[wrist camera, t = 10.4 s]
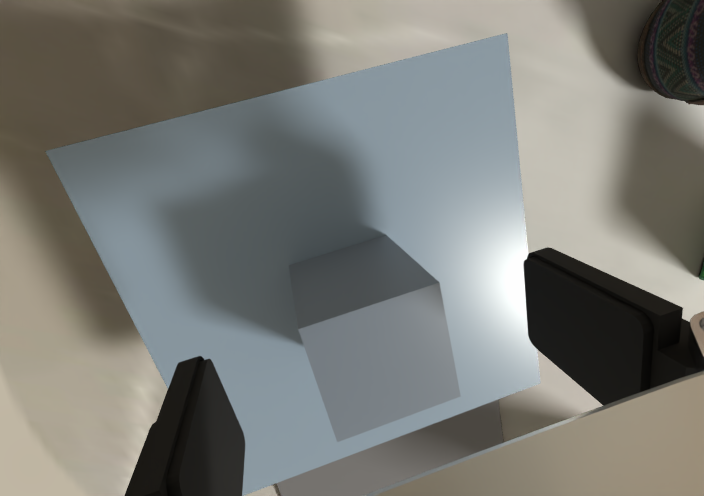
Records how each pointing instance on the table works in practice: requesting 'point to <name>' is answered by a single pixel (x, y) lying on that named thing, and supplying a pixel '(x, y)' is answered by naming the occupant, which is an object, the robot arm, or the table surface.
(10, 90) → the table surface
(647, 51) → the mate gourd
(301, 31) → the table surface
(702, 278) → the coffee box
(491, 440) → the mat
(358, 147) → the lid
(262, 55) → the table surface
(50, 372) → the table surface
